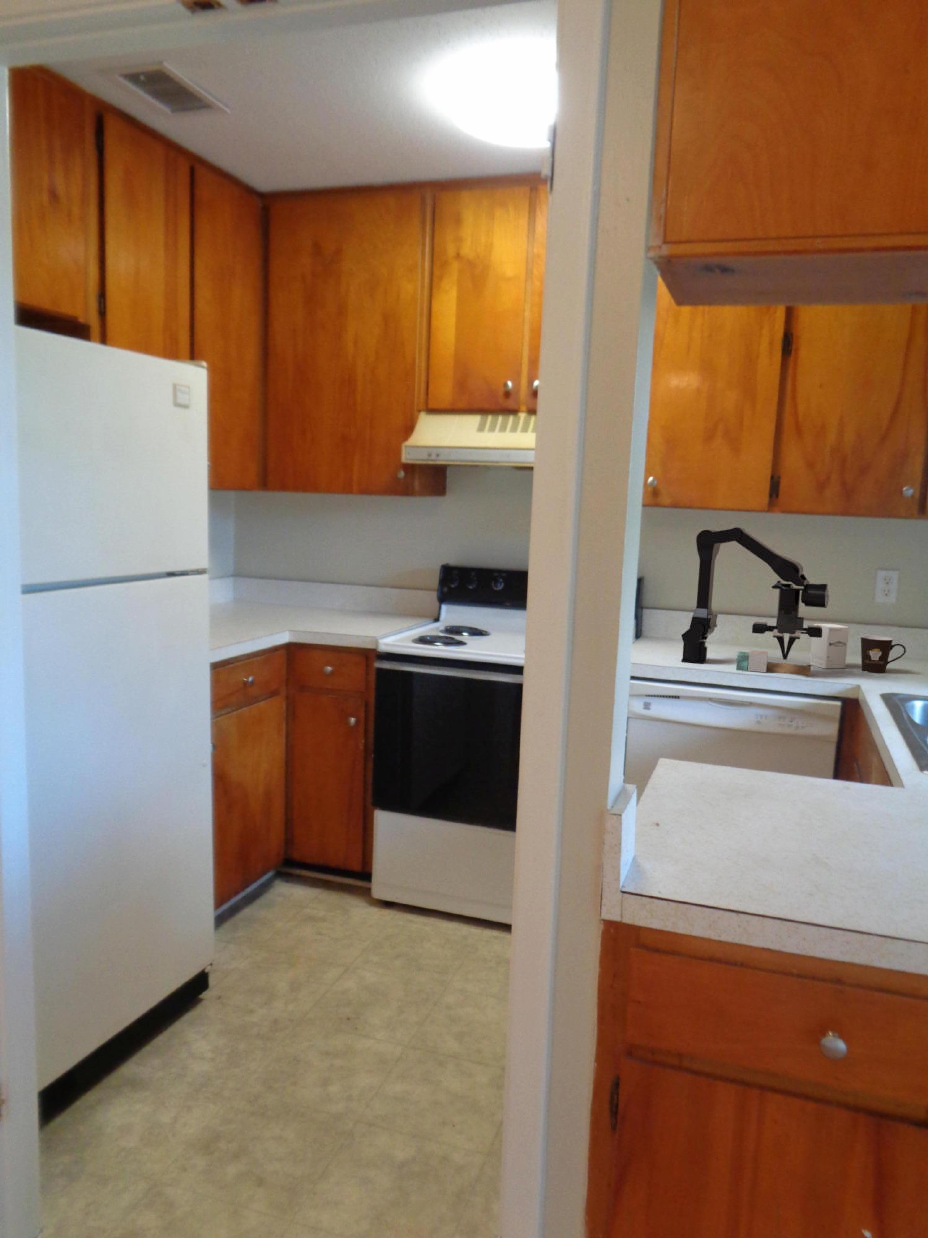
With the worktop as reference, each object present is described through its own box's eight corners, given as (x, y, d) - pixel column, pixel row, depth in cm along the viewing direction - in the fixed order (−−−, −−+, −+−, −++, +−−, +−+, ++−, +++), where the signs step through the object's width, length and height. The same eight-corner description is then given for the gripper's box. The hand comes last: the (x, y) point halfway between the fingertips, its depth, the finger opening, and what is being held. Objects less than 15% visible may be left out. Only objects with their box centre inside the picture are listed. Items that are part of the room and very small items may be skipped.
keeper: (747, 670, 257) (749, 653, 257) (749, 666, 264) (750, 649, 263) (765, 672, 255) (767, 655, 255) (766, 668, 262) (768, 651, 261)
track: (736, 670, 258) (737, 654, 258) (737, 666, 265) (738, 651, 264) (810, 677, 251) (811, 661, 251) (810, 673, 258) (811, 657, 257)
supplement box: (824, 668, 266) (828, 626, 264) (809, 664, 273) (812, 623, 272) (845, 668, 268) (849, 626, 266) (829, 664, 275) (833, 623, 274)
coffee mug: (852, 670, 266) (855, 636, 264) (866, 667, 271) (869, 634, 270) (891, 676, 257) (895, 642, 255) (905, 673, 262) (908, 640, 261)
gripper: (752, 606, 250) (749, 661, 252) (824, 610, 244) (820, 666, 246) (754, 602, 261) (751, 655, 263) (823, 606, 254) (819, 660, 256)
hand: (784, 659), depth 257 cm, fingers closed
